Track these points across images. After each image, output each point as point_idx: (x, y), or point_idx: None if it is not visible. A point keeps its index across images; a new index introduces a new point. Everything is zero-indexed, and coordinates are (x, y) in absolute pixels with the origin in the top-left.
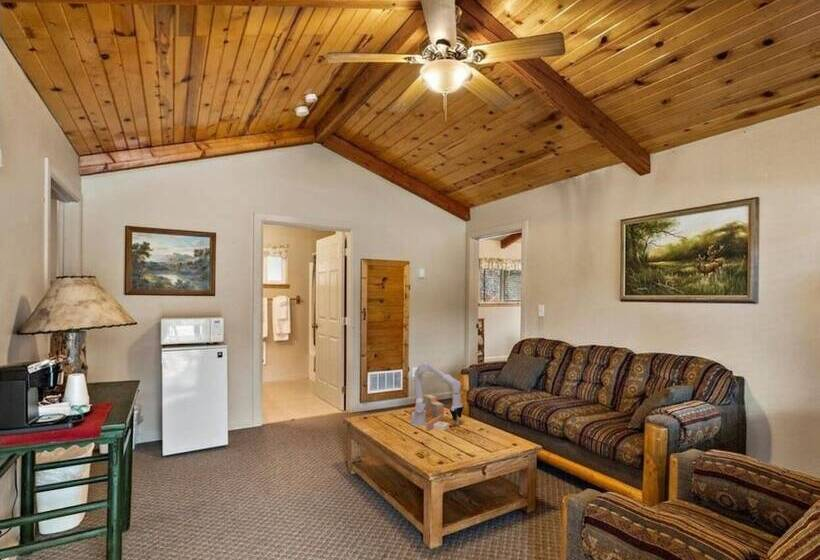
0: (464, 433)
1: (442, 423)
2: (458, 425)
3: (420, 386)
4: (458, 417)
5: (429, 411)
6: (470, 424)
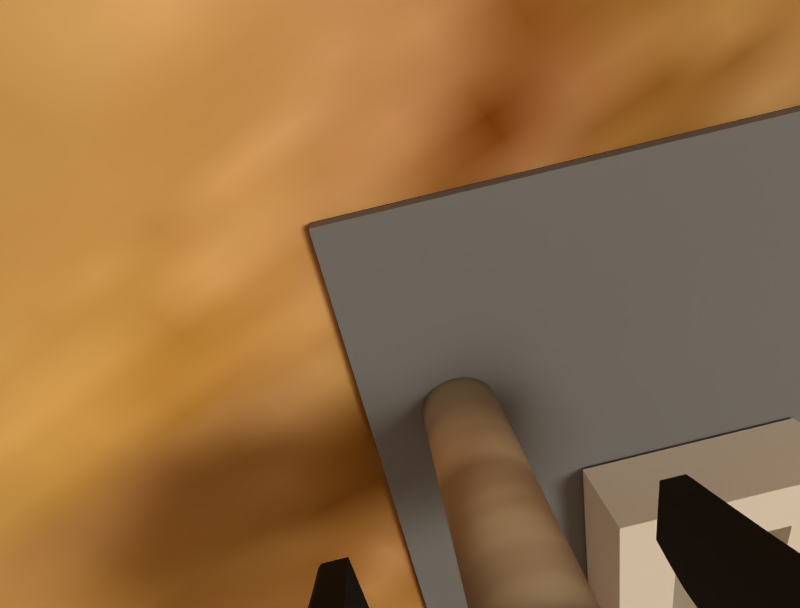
0: (752, 18)
1: (669, 584)
2: (464, 393)
3: None
4: (524, 559)
5: None
6: (77, 321)
